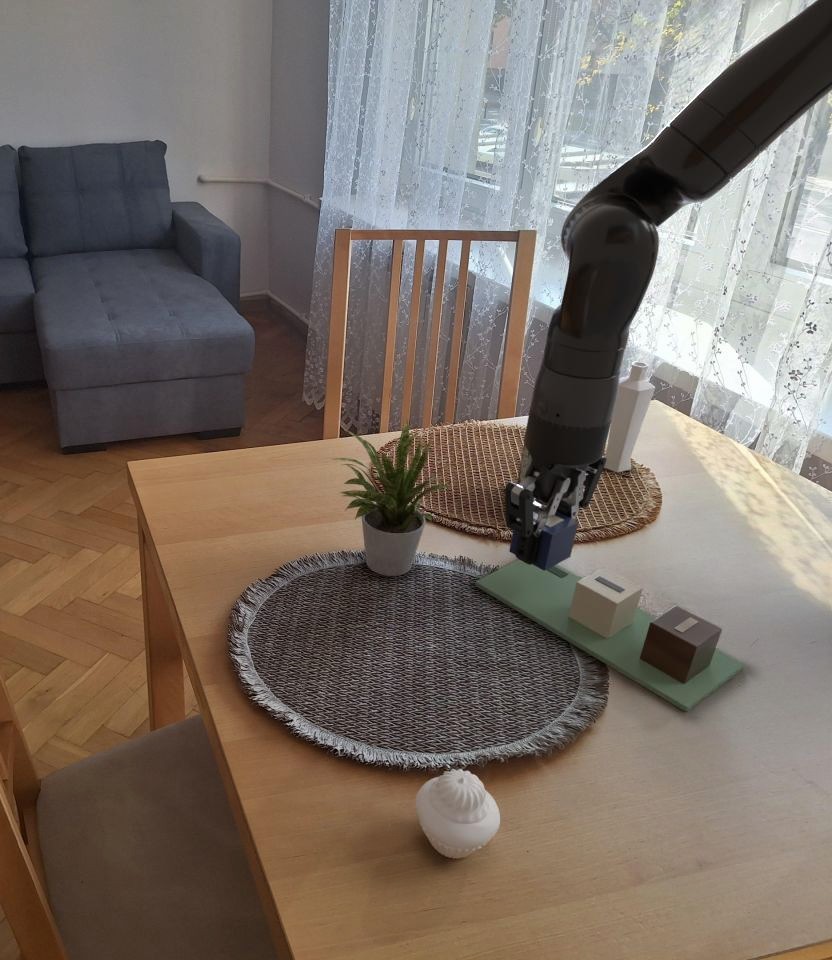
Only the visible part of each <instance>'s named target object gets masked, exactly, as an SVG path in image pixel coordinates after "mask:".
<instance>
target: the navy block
mask: <svg viewBox="0 0 832 960" xmlns="http://www.w3.org/2000/svg"><path fill="white" fill-rule="evenodd" d="M542 505H543V504H542ZM543 506H545V505H543ZM545 507H546V506H545ZM537 518H538V514H537V513H535V512H533V522H534V523H536V520H537ZM517 519H518V517H517ZM578 527H579V521H578V520H576V519H575V518H574V519H572V518H570V517H568V516H566V515H564V514H562V513H559V512H557V511H556V513H555V515H554V516H553V517H549V518H548V520H547V522H546V525H545V527H544V530H543V532H542V534H541V535H542V537H541V542H540V547H539V551H538V556H537V560H536V562H535V563H533V565H535V566H536V567H538V568H540V569H542V570H544V571H545V570H547V569H549V568H551V567H553V566H554V565H558V564H560V563H562V562H564V561H565V560H568V559H569V558H571V555H572V552H573V547H574V543H575V539H576V536H577V530H578ZM518 535H519V533H518V532H516V531H514V530H512V535H511V540H510V546H509V551H508V552H509V553H510V554H512V555H515V550H516V545H517V540H518Z"/></svg>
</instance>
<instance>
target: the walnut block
mask: <svg viewBox="0 0 832 960" xmlns="http://www.w3.org/2000/svg"><path fill="white" fill-rule="evenodd" d="M722 632H723V629H722V628H721V627H720V626H717V625H716V624H714V623H711V622H710V621H708V620H706V619H704V618H702V617H700V616H698V615H696V614H694V613H692V612H690V611H688V610H686V609H684V608H682V607H680V606H678V605H674V606H673V607H671V608H670V609H669V610H667V611H665V612H663V613H662V614H660V615H659V616H658V617H656V619H655V620H653V621H652V622H650V625H649V628H648V632H647V635H646V638H645V642H644V645H643V648H642V652H641V655H640V659H642V660H643V661H645V662H647V663H648V664H650V665H652V666H654V667H655V668H657V669H659V670H661V671H662V672H664V673H666V674H668V675H669V676H671V677H673V678H675V679H676V680H678V681H680V682H681V683H683V684H685V683H686V682H688V681H689V680H690V679H692V678H693V677H694V676H696V675H697V674H698V673H700V672H701V671H703V670H704V669H705V668H707V667H708V666H709V665H710V663H711V660H712V657H713V654H714V651H715V649H716V650H717V646H718V643H719V640H720V637H721V634H722Z"/></svg>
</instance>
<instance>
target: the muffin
mask: <svg viewBox="0 0 832 960" xmlns="http://www.w3.org/2000/svg"><path fill="white" fill-rule="evenodd" d="M414 801H415V802H414V806H415V811H416V815H417V820H418V822H419V826H420V827H421V829H422V832H423V833H424V835H425V836H426V838H427V839H428V841H429V843H430V844H431V846H432V847H433V848H434V850H435V851H436V852H437V853H439V854H440V855H441V856H445V857H446V858H448V859H451V858H452V859H453V860H454V859H457V860H459V859H463V858H466V857H468V856H470V855H472V854H474V853H475V852H477V851H479V850H481V848H483V847H485V846H486V845H487V844H488V843H489V842H490V841H491V839H493V837H494V836H495V835H496V834H497V832H498V831H499V829H500V825H501V813H500V810H499V806H498V804H497V802H496V800H495V799H494V797H493V795H491V793H489V792H488V790H486V789H485V785H484V783H483V782H482V780H480V779H479V777H478V776H477V775H476V774H474V773H471V771H469V770H464V769H462V768H459V769H457V770H456V769H455V768H451V769H450V771H449V770H444V771H443V774H442V775H439V776H437V777H433V778H430V779H429V780H427V781H426V782H425V783H423V785H422V786H421V787H420V788H419V790H418V792H417V793H416V796H415V800H414Z"/></svg>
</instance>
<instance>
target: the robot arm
mask: <svg viewBox="0 0 832 960" xmlns="http://www.w3.org/2000/svg"><path fill="white" fill-rule="evenodd" d="M831 91H832V0H815V1H814V2H813V3H811V4H810V5H809V6H807V7H806V8H805V9H804V10H802V11H800V12H799V14H797V15H796V16H794V17H793V18H791V19H790V20H789V21H787V22H786V23H785V24H783V25H782V26H780V27H779V28H777V29H776V30H775V31H774V32H772V33H771V34H769V35H768V36H766V37H765V38H764V39H762V40H761V41H760V42H758V43H757V44H755V45H754V46H752V47H751V48H750V49H749V50H747V51H746V52H745V53H743V54H742V55H741V56H739V58H737V59H736V60H735V61H733V62H732V63H731V64H730V65H728V66H727V67H726V68H725V69H724V70H722V72H720V73H719V74H718V75H717V76H715V78H713V80H712V81H710V82H708V84H707V85H706V86H705V87H704V88H702V90H701V91H699V93H697V94H696V95H695V97H694V98H693V99H691V100H690V101H689V103H687V104H686V106H685V107H684V108H682V109H681V110H680V112H679V113H677V114H676V115H675V116H674V117H673V119H671V120H670V121H669V122H668V124H667V125H665V126H664V128H662V130H661V131H660V132H659V133H657V135H656V136H655V137H654V139H653V140H651V142H650V143H648V144H647V146H645V147H644V148H643V149H641V150H640V151H639V152H637V153H636V154H634V155H633V156H631V157H630V158H629V159H628V160H626V161H625V162H623V163H622V164H621V165H620V166H618V167H617V168H616V169H615V170H613V171H612V172H611V173H610V174H608V175H607V176H605V177H604V178H603V179H602V180H601V181H599V182H598V183H597V184H595V186H593V187H592V188H591V189H590V190H589V191H588V192H587V193H585V194H584V196H583V197H582V198H581V199H580V200H579V201H578V202H577V203H576V204H575V206H574V207H573V208H572V209H571V210H570V212H569V213H568V215H567V216H566V218H565V220H564V222H563V225H562V228H561V233H560V244H561V248H562V250H563V253H564V255H565V256H566V258H567V260H568V271H567V276H566V282H565V285H564V289H563V293H562V299H561V304H559V305H558V306H557V307H556V308H555V309H554V311H553V313H552V315H551V318H550V321H549V323H548V328H547V333H546V337H545V343H544V347H543V353H542V359H541V363H540V367H539V368H538V369H539V370H538V373H537V374H536V378H535V381H534V385H533V391H532V395H531V396H532V397H531V401H530V406H529V411H528V412H529V413H528V417H527V422H526V427H525V432H524V438H523V446H524V445H525V447H526V449H527V450H528V452H529V454H530V455H531V458H532V461H531V463H530V466H529V468H528V470H527V472H526V479H525V480H523V481H522V482H521V483H519V484H518V485H517V483H516V482H513V481H509V482H508V483H507V484H506V486H505V488H504V505H505V506H504V507H505V527H506V528H508V529H510V530H512V531H513V530H514V531H516V532H518V533H519V535H518V540H517V545H516V550H515V558H517V560H518V559H519V560H521V561H523V562H525V563H527V564H529V565H531V564H533V563H535V562H536V560H537V556H538V551H539V547H540V542H541V537H542V535H541V534H542V532H543V530H544V527H545V525H546V522H547V520H548V518H549V517H553V516H554V515H555V513H556V511H557V512H559V513H562V514H564V515H566V516H568V517H570V518H572V519H574V520H575V519H576V518H577V517H578V515H579V512H580V509H583V510H586V509H587V508H588V507H589V506H590V503H591V501H592V498H593V496H594V494H595V491H596V488H597V486H598V483H599V481H600V478H601V476H602V473H603V471H604V469H605V468H604V466H605V463H606V458H605V456H604V453H605V450H606V446H607V442H608V438H609V432H610V426H611V421H612V417H613V412H614V408H615V404H616V400H617V396H618V389H619V380H620V378H621V377H620V376H621V375H620V374H621V370H622V366H623V363H624V359H625V355H626V349H627V346H628V341H629V336H630V330H631V325H632V324H633V321H634V319H635V317H636V315H637V314H638V312H639V309H640V307H641V305H642V303H643V300H644V298H645V295H646V293H647V291H648V288H649V286H650V283H651V281H652V279H653V275H654V272H655V269H656V265H657V261H658V256H659V249H660V237H659V236H660V235H659V231H658V228H659V227H660V226H661V225H662V224H664V223H665V222H667V220H669V219H670V218H671V217H672V216H674V215H675V214H676V213H677V212H679V211H680V210H681V209H682V208H684V207H686V206H687V205H693V204H700V203H703V202H705V201H708V200H709V199H711V198H712V197H713V196H715V194H717V193H719V192H720V191H721V190H722V189H723V188H725V187H726V186H727V185H728V184H729V183H730V182H731V180H732V181H733V179H735V177H737V176H738V175H739V174H740V173H741V172H742V171H744V169H745V168H746V167H748V166H749V165H750V164H752V162H753V161H755V159H756V158H757V157H759V156H760V154H762V153H763V152H765V150H766V149H767V148H768V147H770V146H771V145H772V143H774V142H775V141H776V140H778V138H779V137H780V136H781V135H783V133H785V132H786V131H787V130H788V129H789V128H790V127H791V126H792V125H793V124H795V123H796V122H797V121H798V120H799V119H800V118H802V116H804V115H805V114H806V113H807V112H808V111H809V110H810V109H811V108H813V107H814V106H815V105H816V104H817V103H819V101H821V100H822V99H823V98H824V97H826V96H827V95H828V94H829V93H830V92H831ZM533 496H534V497H533ZM536 499H538V500H540V501H542V502H544V503H548V504H547V506H546V507H545V506H543V505H541V504H539V503H537V502H535V501H536ZM533 512H535V513H537V514H538V518H537V520H536V523H534V522H533ZM517 517H518V519H517Z"/></svg>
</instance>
